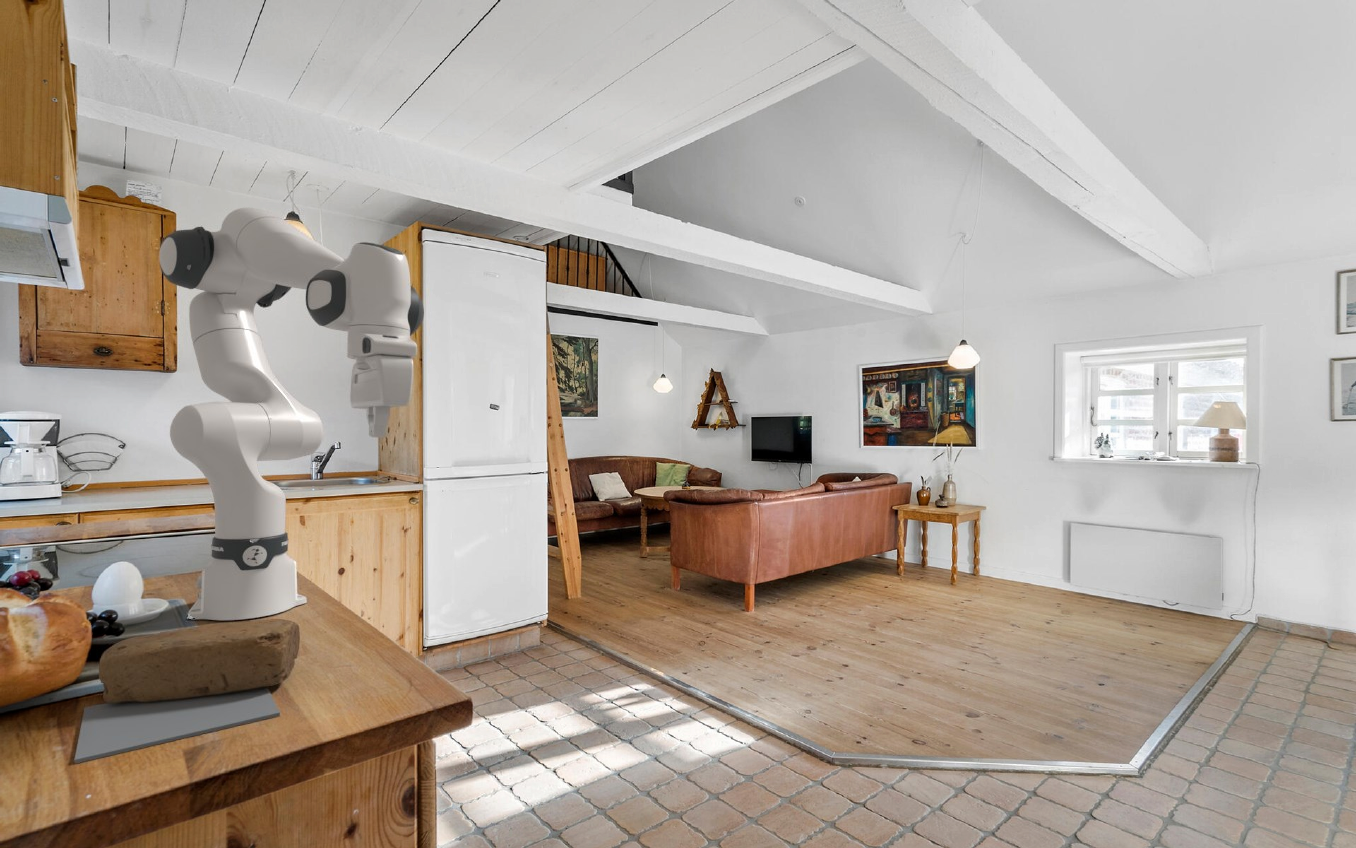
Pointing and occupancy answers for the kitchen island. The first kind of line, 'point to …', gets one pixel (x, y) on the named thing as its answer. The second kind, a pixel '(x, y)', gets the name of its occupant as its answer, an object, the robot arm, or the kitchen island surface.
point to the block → (199, 661)
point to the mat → (166, 721)
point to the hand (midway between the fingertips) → (377, 437)
